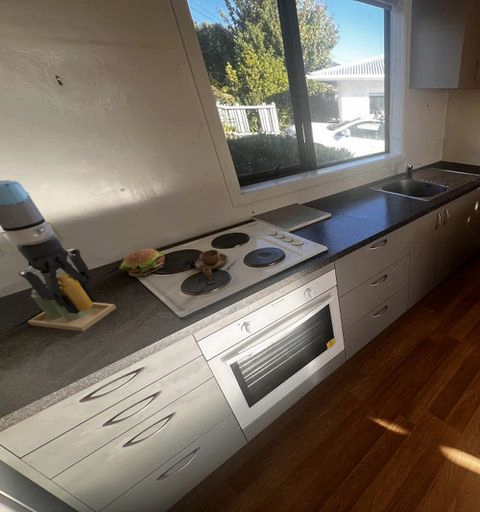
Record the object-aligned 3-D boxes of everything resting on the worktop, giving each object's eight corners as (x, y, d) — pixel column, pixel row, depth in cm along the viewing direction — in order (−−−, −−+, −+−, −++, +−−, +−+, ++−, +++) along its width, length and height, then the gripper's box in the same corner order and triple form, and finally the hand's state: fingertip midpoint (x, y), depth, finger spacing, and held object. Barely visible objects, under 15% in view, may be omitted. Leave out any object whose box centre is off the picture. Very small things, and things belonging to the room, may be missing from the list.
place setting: (240, 257, 124) (237, 245, 121) (214, 284, 107) (209, 271, 104) (201, 256, 125) (197, 244, 122) (169, 283, 108) (163, 270, 105)
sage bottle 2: (61, 320, 91) (37, 290, 84) (76, 310, 95) (54, 280, 88) (73, 321, 90) (50, 291, 84) (88, 311, 94) (67, 282, 88)
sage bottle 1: (44, 318, 91) (20, 288, 85) (60, 309, 95) (38, 279, 89) (57, 320, 91) (33, 289, 85) (72, 310, 95) (50, 280, 89)
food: (141, 260, 122) (132, 243, 118) (174, 260, 122) (166, 243, 118) (115, 279, 111) (104, 261, 106) (151, 278, 110) (142, 261, 106)
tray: (31, 326, 89) (27, 321, 88) (67, 303, 98) (64, 299, 97) (84, 332, 87) (80, 327, 86) (116, 308, 96) (114, 304, 95)
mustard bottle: (69, 311, 88) (45, 279, 82) (84, 301, 92) (62, 270, 85) (82, 312, 87) (58, 280, 81) (97, 303, 91) (76, 271, 85)
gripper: (5, 257, 69) (62, 328, 81) (81, 226, 84) (120, 290, 96) (-20, 255, 70) (40, 325, 82) (60, 225, 85) (100, 288, 97)
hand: (83, 306), depth 89 cm, fingers closed on mustard bottle, 5 cm apart
